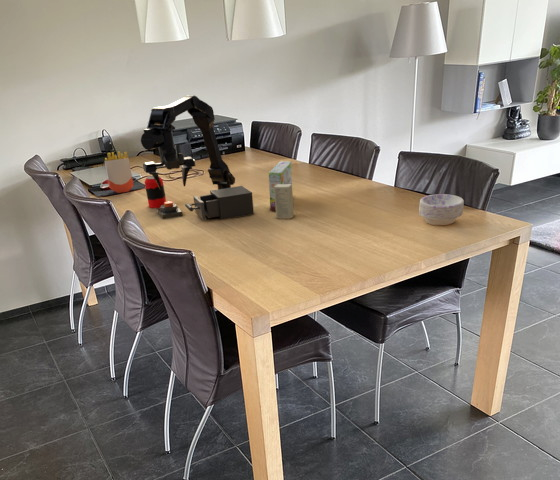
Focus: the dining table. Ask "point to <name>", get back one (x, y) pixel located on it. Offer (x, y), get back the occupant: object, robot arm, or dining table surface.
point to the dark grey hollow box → (234, 202)
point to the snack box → (279, 179)
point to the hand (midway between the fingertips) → (172, 188)
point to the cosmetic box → (284, 201)
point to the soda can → (155, 192)
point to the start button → (168, 204)
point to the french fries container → (119, 172)
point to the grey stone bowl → (441, 208)
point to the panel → (169, 211)
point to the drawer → (205, 206)
